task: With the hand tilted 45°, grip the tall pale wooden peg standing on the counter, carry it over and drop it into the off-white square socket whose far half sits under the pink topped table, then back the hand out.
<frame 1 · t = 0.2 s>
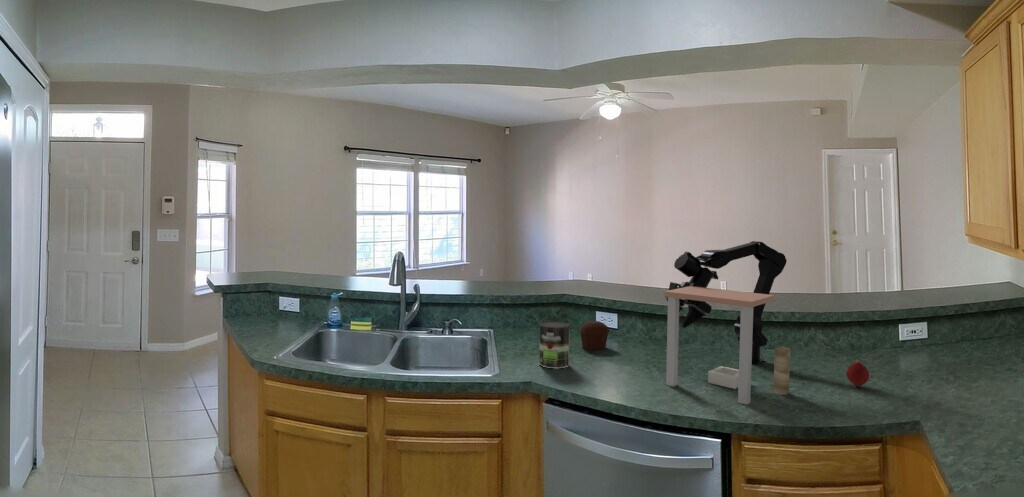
hand: (675, 324, 188), 15 cm above the counter, tool tilted 35°, fingers open, 9 cm apart
socket: (727, 382, 174), on the counter
peg: (781, 392, 164), on the counter
onion: (857, 387, 170), on the counter
pink topped table: (715, 388, 168), on the counter
coffee can: (554, 365, 193), on the counter
muffin: (594, 348, 217), on the counter
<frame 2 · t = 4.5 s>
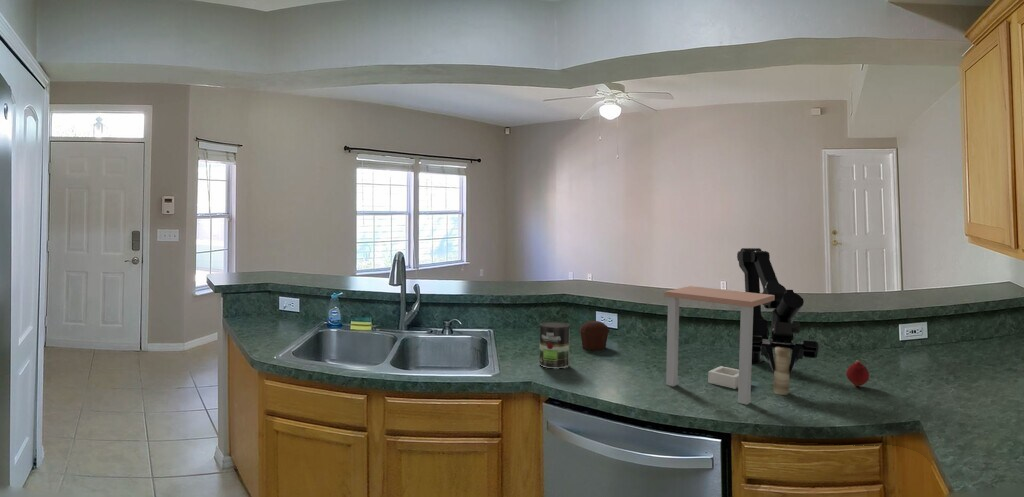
hand: (782, 371, 163), 7 cm above the counter, tool tilted 45°, fingers closed on peg, 4 cm apart
peg: (781, 392, 164), on the counter, touching gripper
everything else where it was.
when the fingers open (8 cm above the counter, at t = 8.5 s): peg drops 2 cm, resting in socket.
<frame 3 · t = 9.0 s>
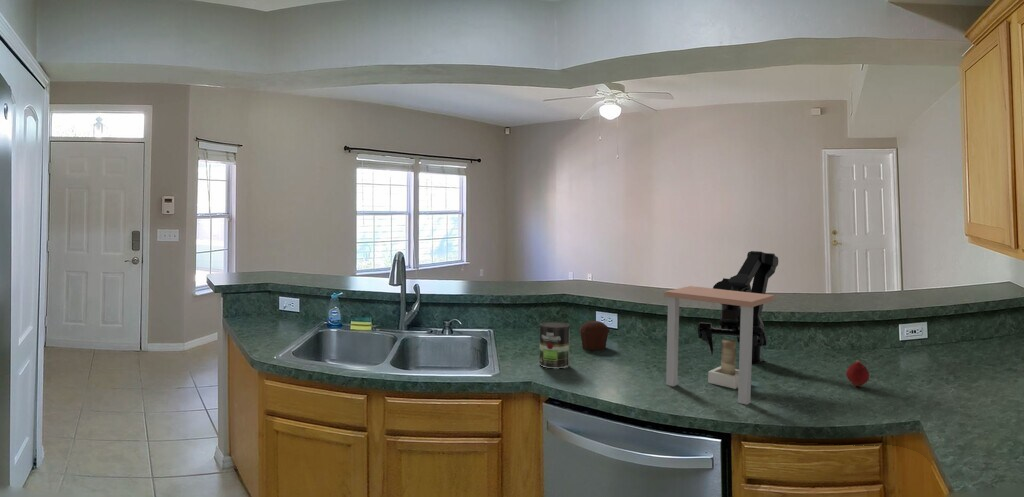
hand: (728, 356, 172), 9 cm above the counter, tool tilted 45°, fingers open, 9 cm apart
peg: (727, 382, 174), resting in socket
everything else where it was.
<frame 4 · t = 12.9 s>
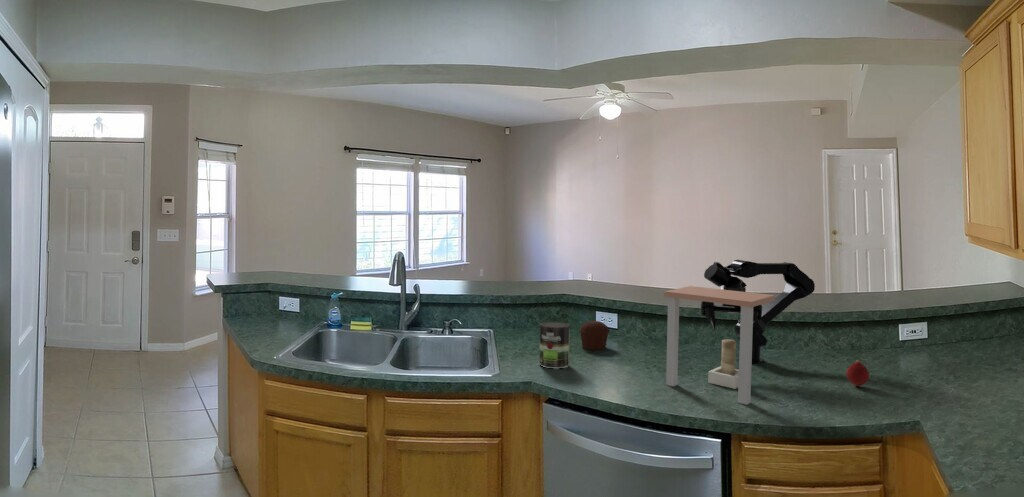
hand: (729, 331, 183), 14 cm above the counter, tool tilted 45°, fingers open, 9 cm apart
nothing on the counter moved.
at the end: peg 0.0 cm off-centre on the socket, point 0.0 cm above the socket's base; peg tilted 0°; the gripper is holding nothing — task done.
